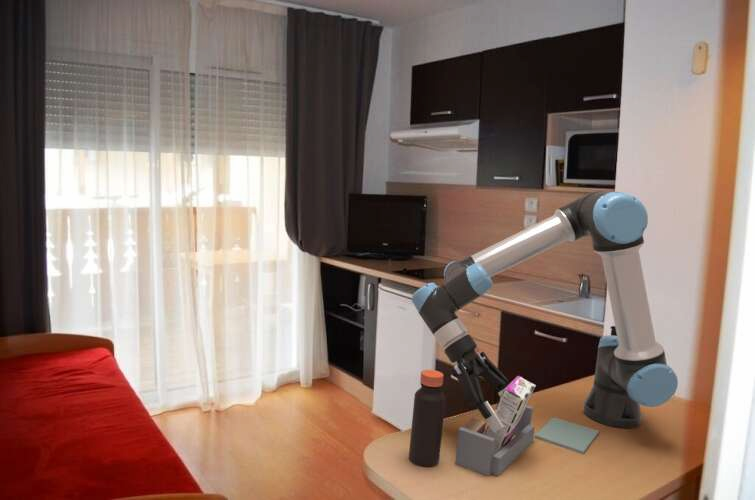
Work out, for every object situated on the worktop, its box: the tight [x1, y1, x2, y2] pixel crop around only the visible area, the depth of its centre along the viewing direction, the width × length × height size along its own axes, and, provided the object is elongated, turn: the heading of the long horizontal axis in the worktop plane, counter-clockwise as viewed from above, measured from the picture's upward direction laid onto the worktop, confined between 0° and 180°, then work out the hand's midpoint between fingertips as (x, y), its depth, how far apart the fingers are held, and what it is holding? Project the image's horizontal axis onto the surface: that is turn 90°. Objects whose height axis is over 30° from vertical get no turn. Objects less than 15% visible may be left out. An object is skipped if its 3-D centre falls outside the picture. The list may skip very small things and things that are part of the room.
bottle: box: [408, 369, 447, 467], centre depth 124 cm, size 7×7×20 cm
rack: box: [454, 404, 536, 477], centre depth 132 cm, size 10×25×8 cm, turn 145°
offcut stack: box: [462, 417, 487, 435], centre depth 134 cm, size 4×8×5 cm, turn 151°
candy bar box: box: [484, 375, 537, 456], centre depth 130 cm, size 11×5×16 cm, turn 151°
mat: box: [534, 416, 600, 455], centre depth 144 cm, size 12×15×1 cm
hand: (509, 421), depth 130 cm, fingers closed on candy bar box, 11 cm apart
